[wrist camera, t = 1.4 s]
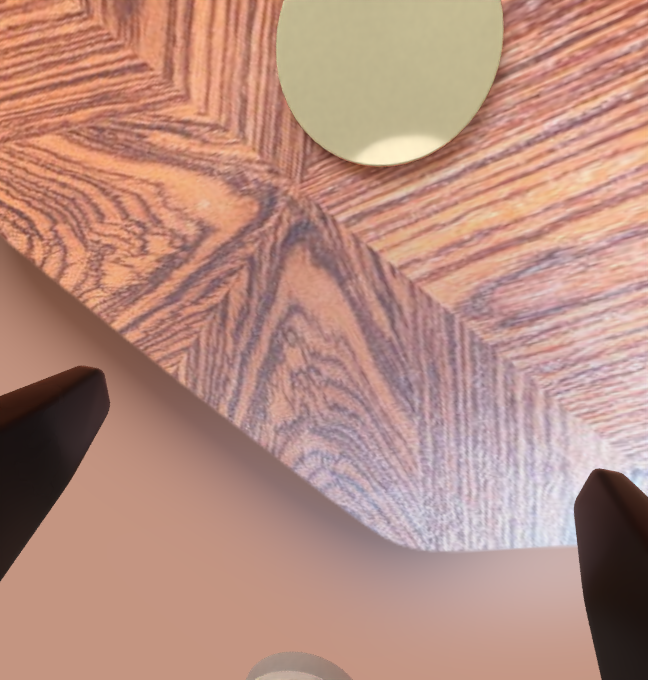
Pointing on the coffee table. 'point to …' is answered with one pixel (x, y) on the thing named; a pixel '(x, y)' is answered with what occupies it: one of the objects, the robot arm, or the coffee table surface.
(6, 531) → the robot arm
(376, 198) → the coffee table surface
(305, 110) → the coaster
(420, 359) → the coffee table surface
